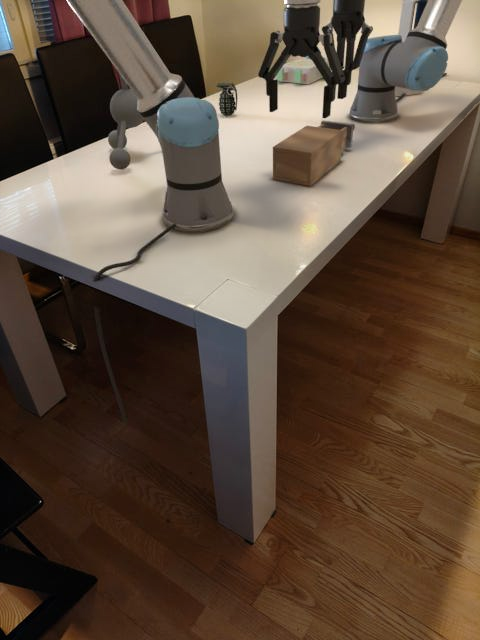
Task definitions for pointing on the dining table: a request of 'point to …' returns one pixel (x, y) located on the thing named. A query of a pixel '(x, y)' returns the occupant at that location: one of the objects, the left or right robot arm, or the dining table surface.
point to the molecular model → (123, 124)
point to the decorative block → (300, 71)
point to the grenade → (227, 99)
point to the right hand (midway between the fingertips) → (341, 97)
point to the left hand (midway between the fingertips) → (299, 113)
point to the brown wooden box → (307, 155)
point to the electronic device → (409, 29)
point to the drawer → (346, 131)
